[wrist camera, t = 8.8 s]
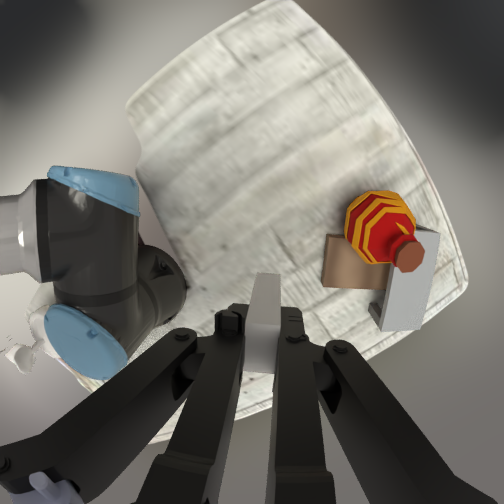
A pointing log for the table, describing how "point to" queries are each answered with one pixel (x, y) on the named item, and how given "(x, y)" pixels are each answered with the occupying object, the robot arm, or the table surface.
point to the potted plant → (25, 354)
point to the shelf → (408, 289)
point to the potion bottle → (383, 230)
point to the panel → (350, 267)
